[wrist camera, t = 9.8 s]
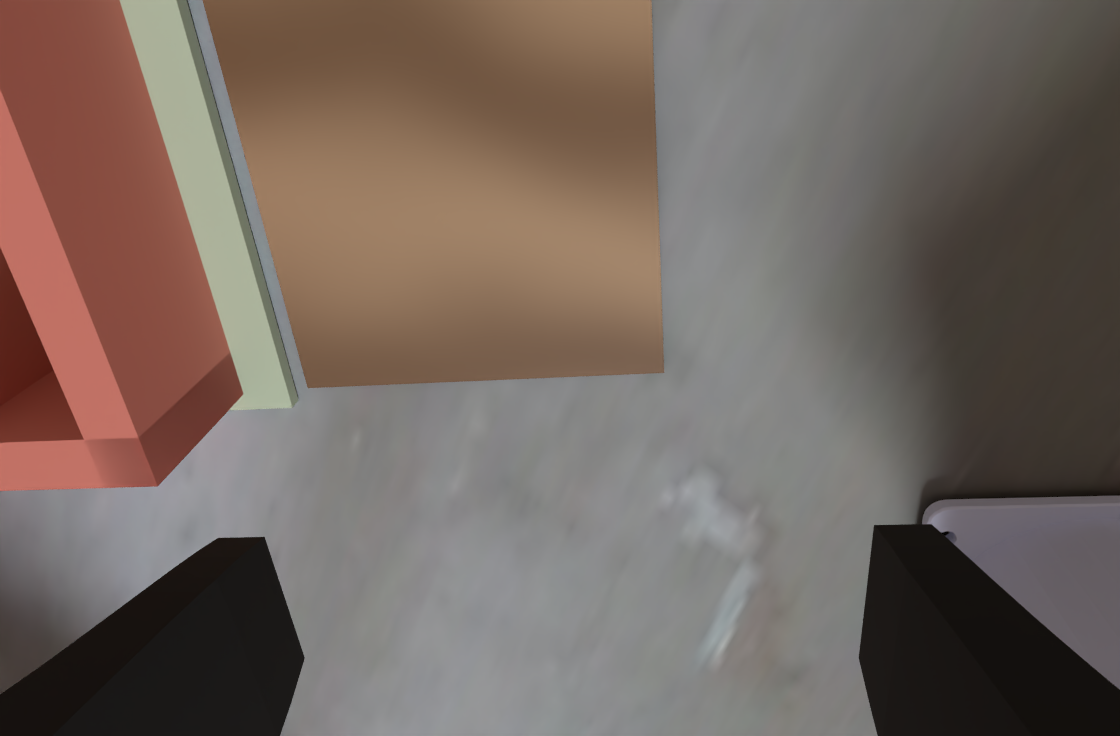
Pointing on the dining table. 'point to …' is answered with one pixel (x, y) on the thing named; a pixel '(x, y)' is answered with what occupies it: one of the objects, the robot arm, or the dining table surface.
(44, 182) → the c link
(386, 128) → the stand
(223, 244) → the mat
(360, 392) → the dining table surface
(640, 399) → the dining table surface
